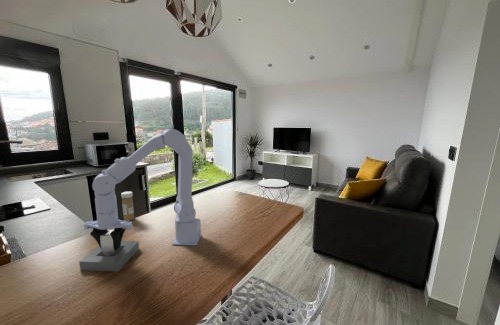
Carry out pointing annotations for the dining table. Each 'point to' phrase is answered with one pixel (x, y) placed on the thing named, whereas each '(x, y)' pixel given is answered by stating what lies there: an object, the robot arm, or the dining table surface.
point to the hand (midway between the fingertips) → (111, 248)
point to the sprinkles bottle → (127, 205)
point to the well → (109, 258)
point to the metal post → (108, 244)
